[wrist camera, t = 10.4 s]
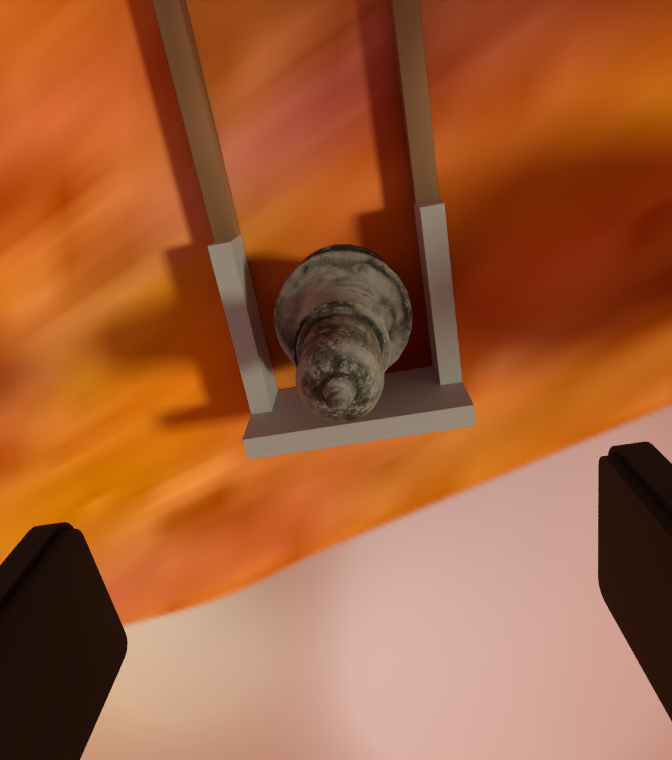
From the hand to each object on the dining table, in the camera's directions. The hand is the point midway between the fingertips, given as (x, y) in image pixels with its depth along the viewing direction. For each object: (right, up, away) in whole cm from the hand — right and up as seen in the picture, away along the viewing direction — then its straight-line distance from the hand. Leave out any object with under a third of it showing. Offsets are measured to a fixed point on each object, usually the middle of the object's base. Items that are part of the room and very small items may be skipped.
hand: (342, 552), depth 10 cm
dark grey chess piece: (0, +7, +17) cm, 18 cm away
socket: (0, +7, +17) cm, 18 cm away
